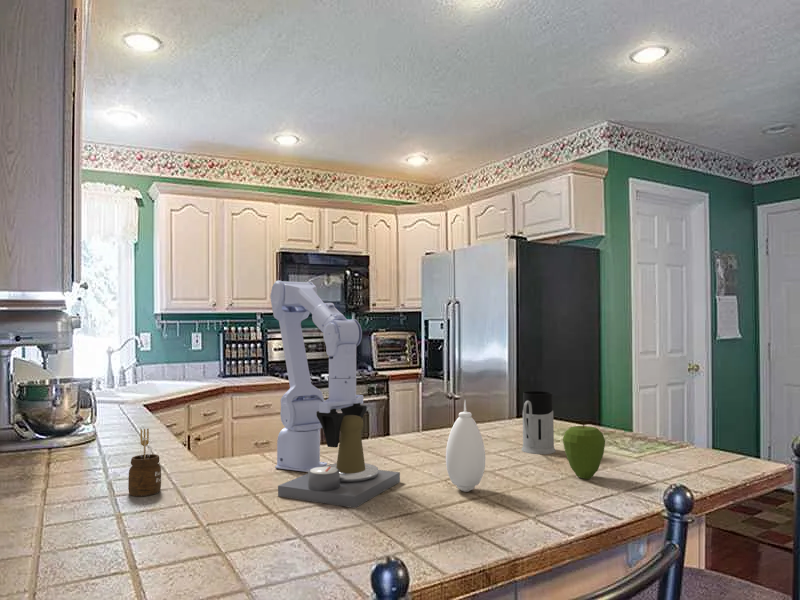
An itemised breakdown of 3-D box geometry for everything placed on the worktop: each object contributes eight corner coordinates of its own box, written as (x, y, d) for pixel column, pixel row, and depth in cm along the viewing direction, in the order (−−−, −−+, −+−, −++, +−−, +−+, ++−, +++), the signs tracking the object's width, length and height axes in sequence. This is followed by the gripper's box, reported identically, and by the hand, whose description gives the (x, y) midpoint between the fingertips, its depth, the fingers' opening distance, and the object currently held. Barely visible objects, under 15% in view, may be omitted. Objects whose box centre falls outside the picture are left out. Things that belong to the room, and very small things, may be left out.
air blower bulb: (488, 486, 118) (488, 397, 119) (481, 497, 111) (480, 402, 111) (451, 483, 121) (450, 396, 121) (441, 493, 113) (441, 400, 114)
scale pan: (308, 478, 117) (308, 472, 117) (339, 464, 128) (339, 460, 128) (360, 484, 112) (360, 479, 112) (388, 470, 123) (388, 465, 123)
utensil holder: (129, 498, 111) (130, 435, 111) (127, 490, 116) (128, 430, 117) (162, 494, 113) (163, 432, 114) (159, 486, 119) (160, 427, 119)
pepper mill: (359, 474, 116) (359, 418, 116) (331, 471, 118) (331, 417, 118) (369, 466, 122) (369, 414, 122) (342, 465, 123) (342, 412, 124)
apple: (607, 474, 127) (606, 421, 128) (603, 484, 119) (602, 427, 120) (566, 470, 131) (566, 419, 131) (560, 479, 123) (559, 425, 124)
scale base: (277, 496, 112) (278, 468, 112) (330, 473, 129) (330, 449, 129) (354, 507, 105) (354, 477, 105) (399, 481, 122) (399, 456, 122)
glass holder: (560, 449, 153) (559, 392, 154) (542, 459, 141) (541, 397, 142) (528, 445, 158) (527, 390, 159) (508, 455, 146) (507, 395, 147)
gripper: (341, 381, 113) (340, 452, 112) (375, 375, 126) (375, 438, 126) (310, 380, 116) (310, 448, 115) (347, 374, 129) (347, 435, 129)
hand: (342, 443), depth 121 cm, fingers open, 7 cm apart
